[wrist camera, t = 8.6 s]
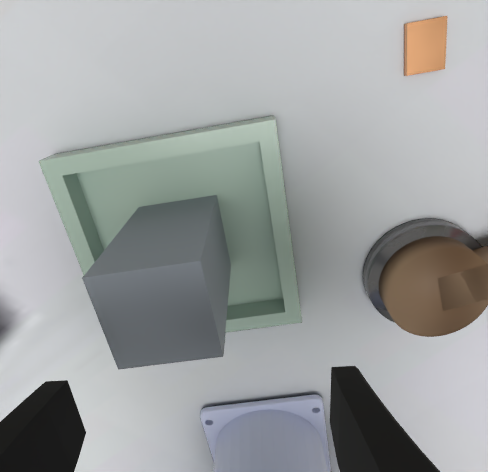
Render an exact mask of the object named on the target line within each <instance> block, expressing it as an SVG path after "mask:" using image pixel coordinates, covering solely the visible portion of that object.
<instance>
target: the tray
mask: <svg viewBox="0 0 488 472" xmlns="http://www.w3.org/2000/svg"><path fill="white" fill-rule="evenodd" d="M39 164H40V166H41V169H42V171H43V174H44V176H45V179H46V181H47V184H48V186H49V189H50V191H51V194H52V196H53V199H54V201H55V204H56V206H57V209H58V211H59V214H60V216H61V219H62V221H63V224H64V227H65V229H66V232H67V234H68V237H69V239H70V242H71V244H72V247H73V249H74V252H75V254H76V257H77V259H78V262H79V264H80V267H81V269H82V272H83V274H84V275H85V274H86V273H87V271H88V270H89V269H90V268H91V266H92V265H93V264H94V263H95V261H96V260H97V259H98V258H99V256H100V255H101V254H102V253H103V251H104V250H105V249H106V247H107V246H108V245H109V244H110V242H111V241H112V240H113V239H114V237H115V236H116V235H117V234H118V232H119V231H120V230H121V229H122V227H123V226H124V225H125V224H126V222H127V221H128V220H129V219H130V217H131V216H132V215H133V214H134V212H135V211H136V210H137V209H138V207H142V206H148V205H155V204H161V203H167V202H174V201H180V200H187V199H193V198H199V197H206V196H212V195H217V198H218V203H219V208H220V213H221V218H222V223H223V228H224V233H225V238H226V243H227V248H228V253H229V257H230V262H231V272H230V283H229V295H228V307H227V319H226V331H225V333H226V332H234V331H241V330H249V329H256V328H264V327H272V326H279V325H287V324H294V323H302V318H301V310H300V302H299V295H298V287H297V279H296V272H295V264H294V257H293V249H292V241H291V234H290V226H289V218H288V211H287V203H286V196H285V188H284V180H283V173H282V165H281V157H280V150H279V142H278V134H277V127H276V119H275V118H274V116H268V117H262V118H257V119H251V120H245V121H240V122H234V123H228V124H223V125H217V126H211V127H206V128H200V129H194V130H189V131H183V132H177V133H172V134H166V135H160V136H155V137H149V138H143V139H138V140H132V141H126V142H121V143H115V144H109V145H104V146H98V147H92V148H87V149H81V150H76V151H70V152H64V153H59V154H54V155H52V156H49V157H47V158H45V159H42V160H40V161H39Z"/></svg>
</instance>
